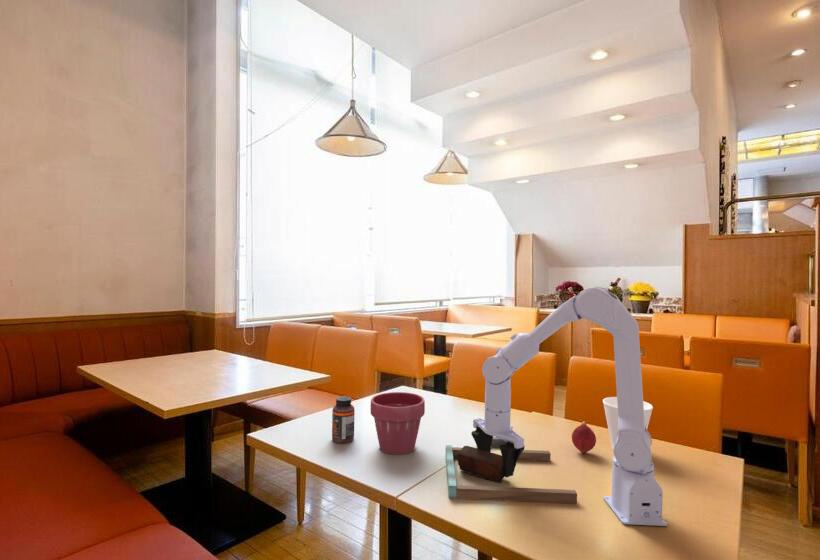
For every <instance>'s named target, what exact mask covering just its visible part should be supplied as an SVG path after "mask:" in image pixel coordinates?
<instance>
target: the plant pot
mask: <svg viewBox="0 0 820 560" xmlns="http://www.w3.org/2000/svg"><path fill="white" fill-rule="evenodd" d="M425 409H426V407H425V398H424V397H423V396H422V395H419V394H417V393H413V392H407V391H406V392H403V391H396V392H394V391H393V392H384V393H380V394H376V395H374V396H372V397H371V399H370V415H371V416H372V417H373V419H374V425H375V430H376V435H377V439H378V440H377V441H378V445H379V449H380V450H381V451H382V452H384V453H387V454H390V455H404V454H409V453H411V452H412V451H414V450H415V448H416V443H417V438H418V434H419V430H420V425H421V420H422V418H423V417H424V415H425V412H426V411H425Z"/></svg>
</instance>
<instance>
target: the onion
mask: <svg viewBox="0 0 820 560" xmlns="http://www.w3.org/2000/svg"><path fill="white" fill-rule="evenodd" d="M571 442H572V443H573V447H575V449H577V450H578V451H579V452H580V453H582V454H586V453H588V452H589V451H591V450H593V449H594V447H595V446H596V443H597V437H596V434H595V432H594V430H592V428H590V426H588V425H587V422H586V421H581V424H580V425H579V426H576V427H575V429H574V430H573V432H572V433H571Z"/></svg>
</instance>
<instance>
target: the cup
mask: <svg viewBox="0 0 820 560" xmlns="http://www.w3.org/2000/svg"><path fill="white" fill-rule="evenodd" d="M602 403H603V408H604V414H605V419H606V423H607V424H606V425H607V430H608V435H609V440H610V445H611V448H612V451H614V446H615V444H616V441H617V433H618V404H617V396H608V397H605V398H603V399H602ZM643 405H644V417H645V426H646V429H647V430H648V426H649V423H650V420H651V417H652V416H651V415H652V411H653V409H654V407H653V404H651V403H649V402H647V401H644V400H643Z"/></svg>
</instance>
